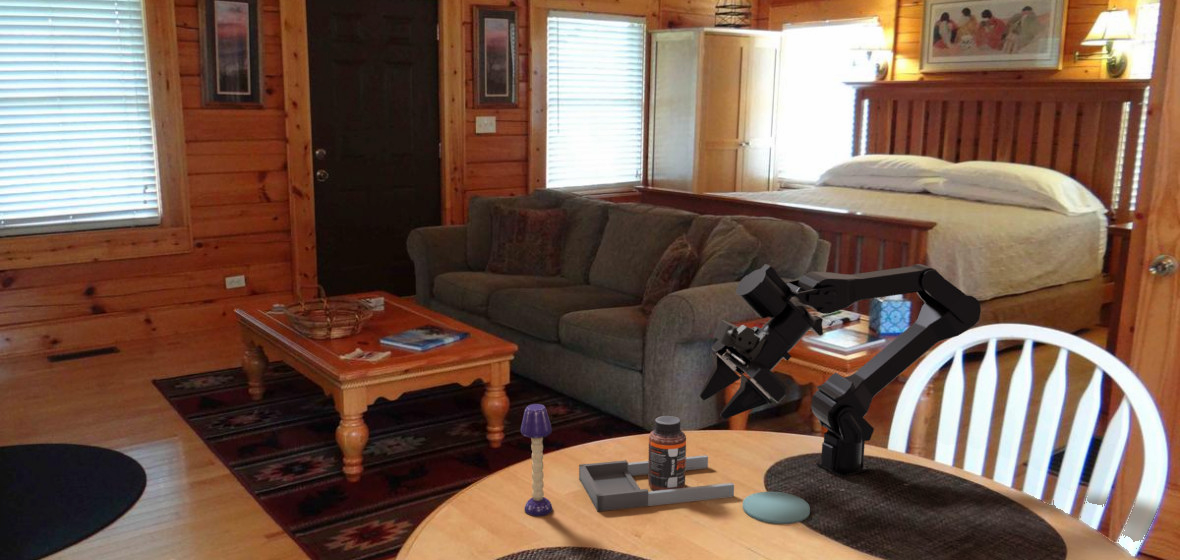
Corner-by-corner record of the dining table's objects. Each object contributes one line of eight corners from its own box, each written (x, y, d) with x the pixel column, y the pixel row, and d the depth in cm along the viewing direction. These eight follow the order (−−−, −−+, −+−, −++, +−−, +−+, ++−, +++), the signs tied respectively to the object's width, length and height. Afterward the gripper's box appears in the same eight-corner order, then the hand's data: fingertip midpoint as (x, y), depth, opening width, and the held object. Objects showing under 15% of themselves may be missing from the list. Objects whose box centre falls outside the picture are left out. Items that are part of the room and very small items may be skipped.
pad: (780, 490, 151) (780, 486, 151) (823, 514, 143) (823, 511, 143) (729, 503, 147) (729, 499, 147) (771, 529, 138) (771, 525, 138)
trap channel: (706, 466, 161) (706, 452, 160) (733, 496, 149) (734, 481, 149) (579, 479, 156) (579, 464, 155) (597, 511, 144) (597, 496, 144)
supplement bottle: (683, 495, 149) (684, 427, 147) (645, 492, 151) (646, 425, 148) (687, 480, 155) (688, 414, 153) (650, 477, 156) (651, 412, 154)
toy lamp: (555, 516, 143) (554, 410, 139) (524, 519, 142) (522, 412, 138) (549, 502, 147) (548, 399, 144) (519, 505, 146) (517, 402, 143)
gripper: (724, 291, 159) (660, 359, 158) (770, 317, 141) (698, 394, 141) (766, 334, 162) (703, 400, 162) (817, 365, 144) (746, 440, 144)
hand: (711, 407), depth 152 cm, fingers open, 9 cm apart
